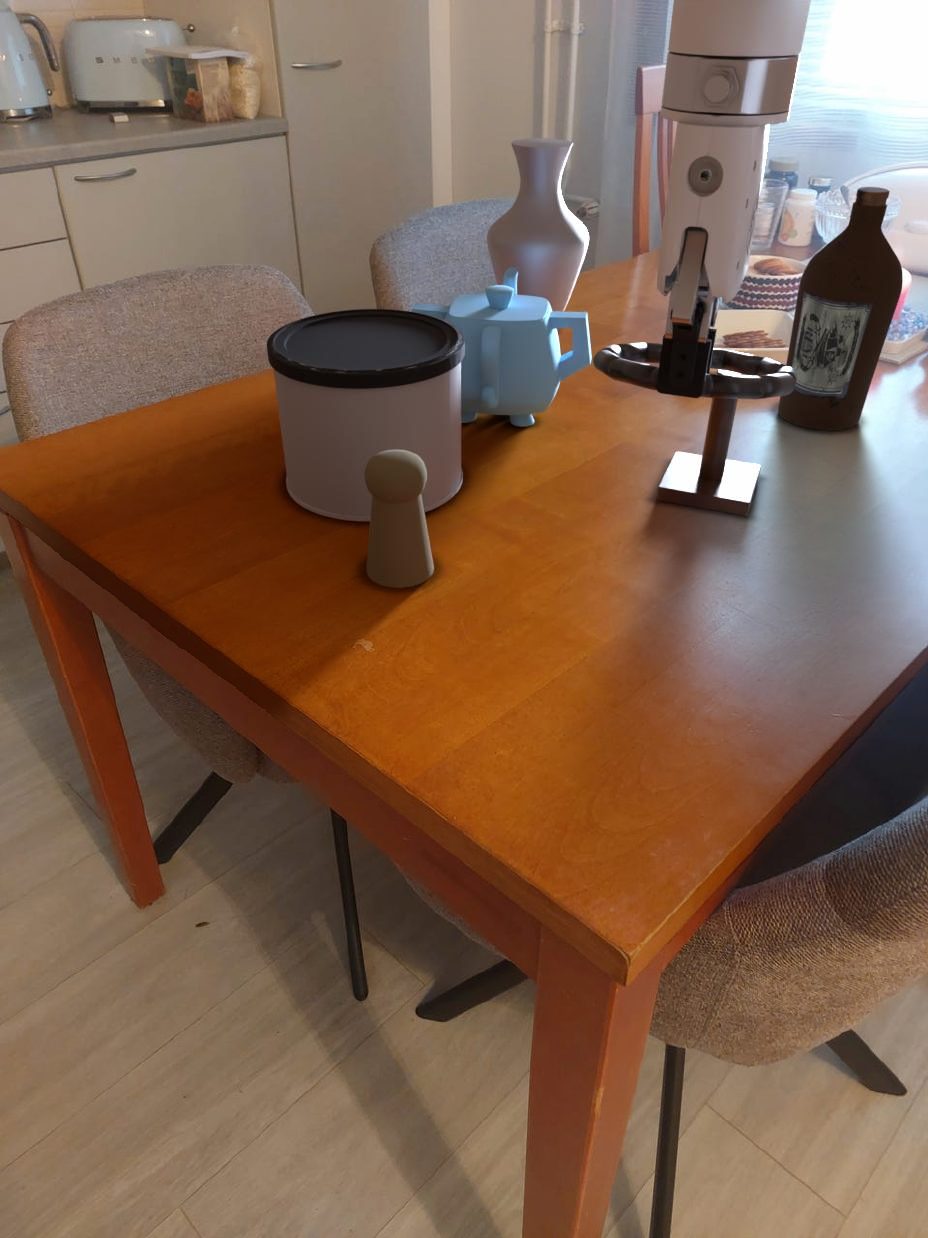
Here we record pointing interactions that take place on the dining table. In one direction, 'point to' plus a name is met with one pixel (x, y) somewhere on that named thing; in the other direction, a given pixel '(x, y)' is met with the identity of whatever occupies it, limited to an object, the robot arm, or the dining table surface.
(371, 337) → the container
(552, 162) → the vase
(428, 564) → the wooden peg doll
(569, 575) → the dining table surface
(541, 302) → the teapot
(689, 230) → the robot arm
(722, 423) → the peg
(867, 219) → the olive oil
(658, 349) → the ring
